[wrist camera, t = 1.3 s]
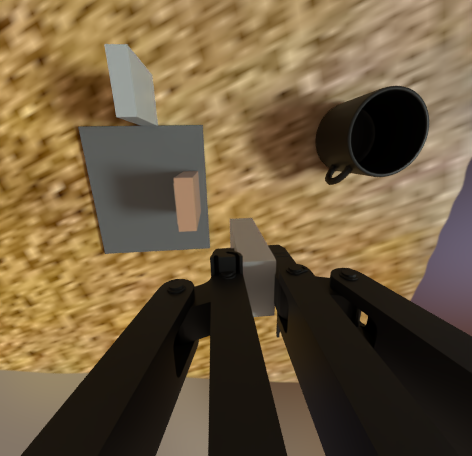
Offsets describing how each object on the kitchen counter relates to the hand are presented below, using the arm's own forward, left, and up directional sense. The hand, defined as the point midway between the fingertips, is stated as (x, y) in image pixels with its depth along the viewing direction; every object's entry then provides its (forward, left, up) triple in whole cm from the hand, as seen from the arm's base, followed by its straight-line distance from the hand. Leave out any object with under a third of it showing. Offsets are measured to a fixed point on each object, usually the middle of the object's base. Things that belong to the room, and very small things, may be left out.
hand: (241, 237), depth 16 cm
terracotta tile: (0, -5, -20) cm, 20 cm away
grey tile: (-12, -10, -20) cm, 26 cm away
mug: (-6, +17, -20) cm, 27 cm away
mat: (0, -11, -20) cm, 23 cm away
